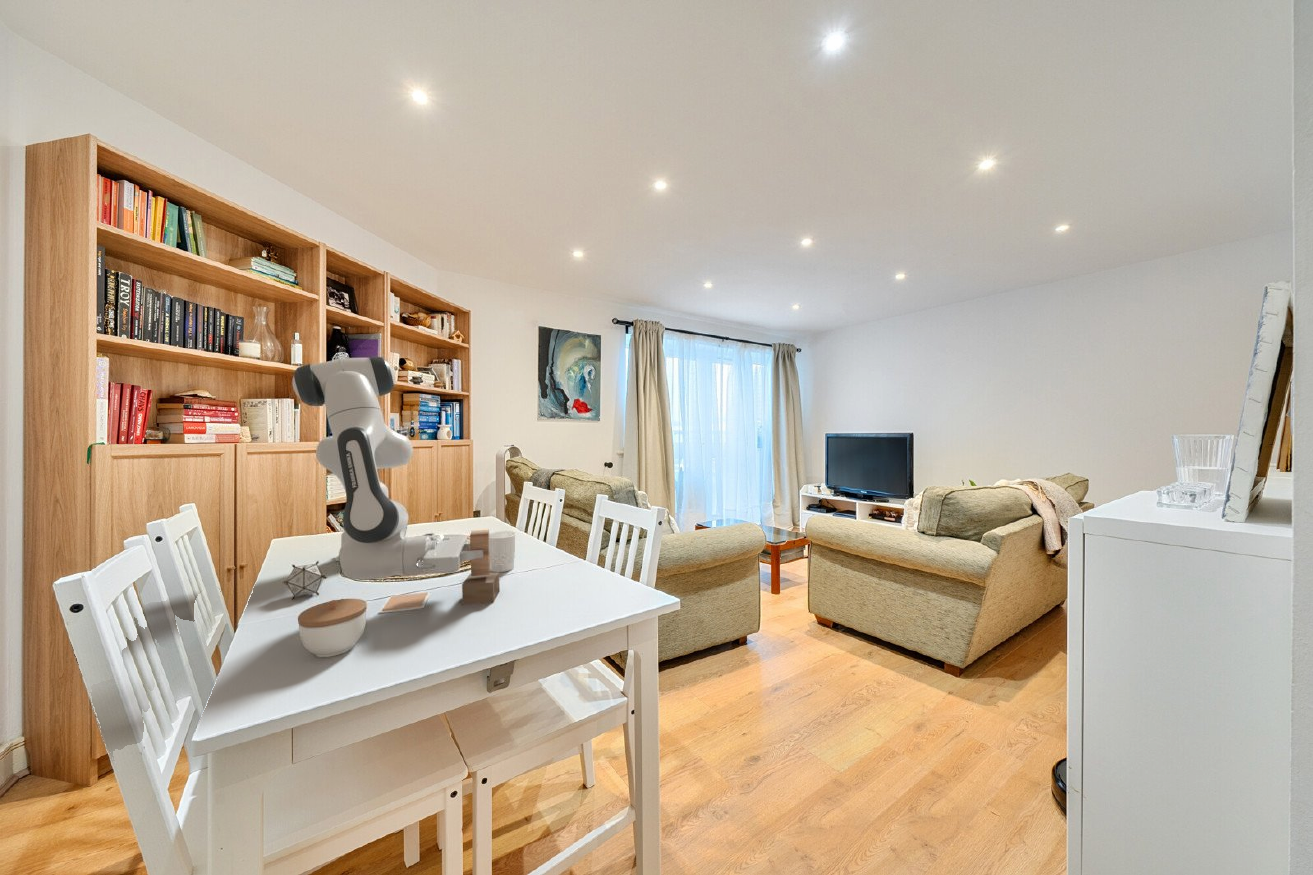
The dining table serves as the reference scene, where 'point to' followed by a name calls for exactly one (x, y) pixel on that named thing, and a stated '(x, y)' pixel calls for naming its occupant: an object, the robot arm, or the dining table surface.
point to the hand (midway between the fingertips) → (484, 549)
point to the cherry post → (481, 541)
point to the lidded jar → (332, 626)
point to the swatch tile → (405, 602)
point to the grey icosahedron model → (305, 580)
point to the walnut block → (480, 588)
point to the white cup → (502, 551)
